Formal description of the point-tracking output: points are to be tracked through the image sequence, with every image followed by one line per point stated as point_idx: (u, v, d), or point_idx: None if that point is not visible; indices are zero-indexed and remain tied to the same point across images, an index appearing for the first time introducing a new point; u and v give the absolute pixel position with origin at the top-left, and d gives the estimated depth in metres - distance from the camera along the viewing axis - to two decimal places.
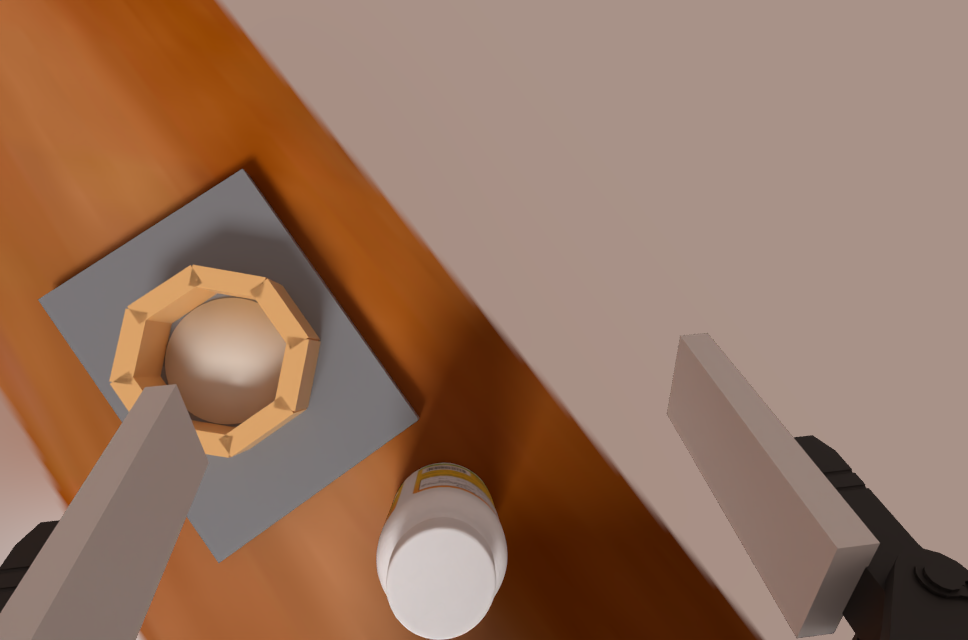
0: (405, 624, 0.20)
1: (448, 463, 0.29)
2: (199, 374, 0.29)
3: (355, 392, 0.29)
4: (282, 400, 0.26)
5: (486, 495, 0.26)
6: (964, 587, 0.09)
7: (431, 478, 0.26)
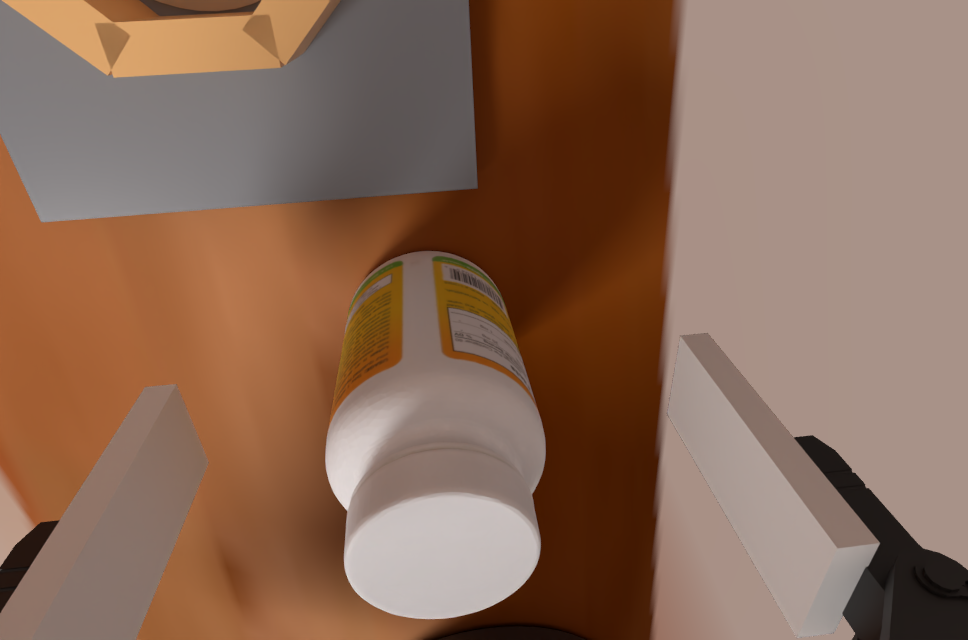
0: (355, 585, 0.11)
1: (477, 269, 0.18)
2: None
3: (401, 80, 0.15)
4: (268, 25, 0.12)
5: None
6: (964, 587, 0.09)
7: (467, 316, 0.15)
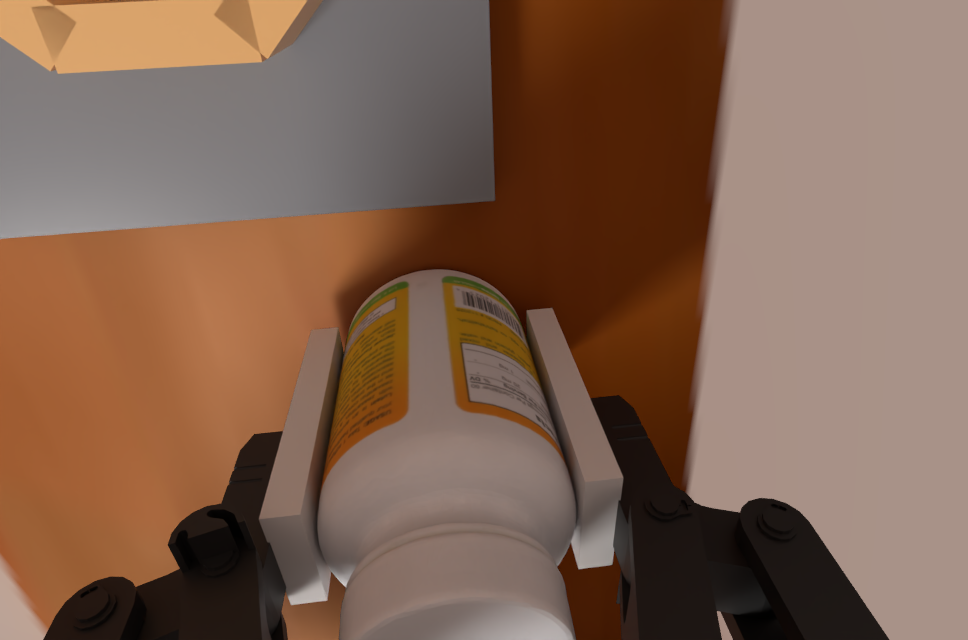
0: None
1: (493, 290, 0.16)
2: None
3: (408, 76, 0.13)
4: (245, 10, 0.09)
5: None
6: (680, 506, 0.10)
7: (484, 354, 0.13)
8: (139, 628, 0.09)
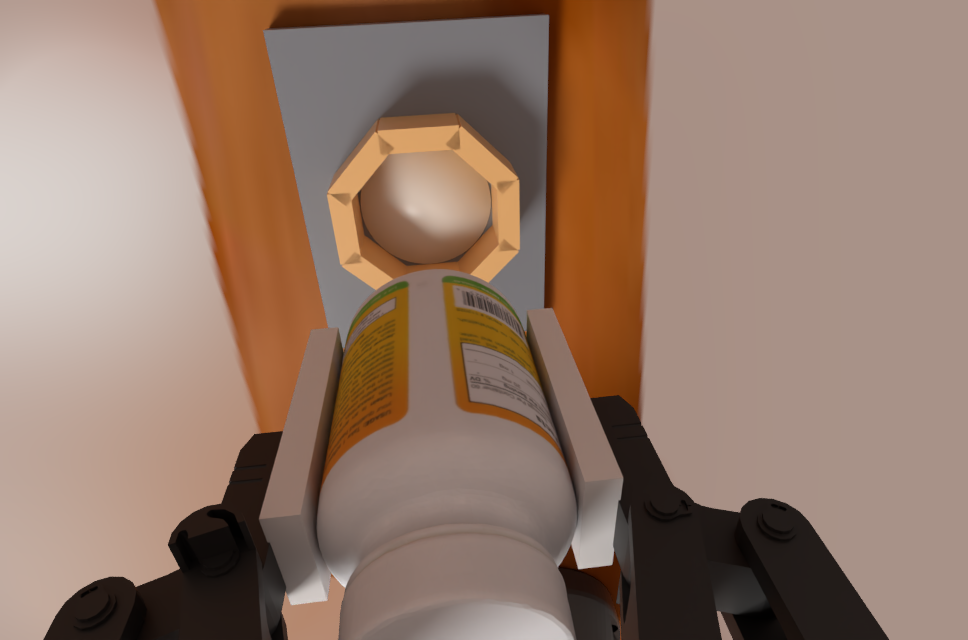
0: None
1: (493, 289, 0.16)
2: (391, 201, 0.28)
3: (511, 285, 0.31)
4: None
5: None
6: (680, 506, 0.10)
7: (484, 354, 0.13)
8: (139, 628, 0.09)
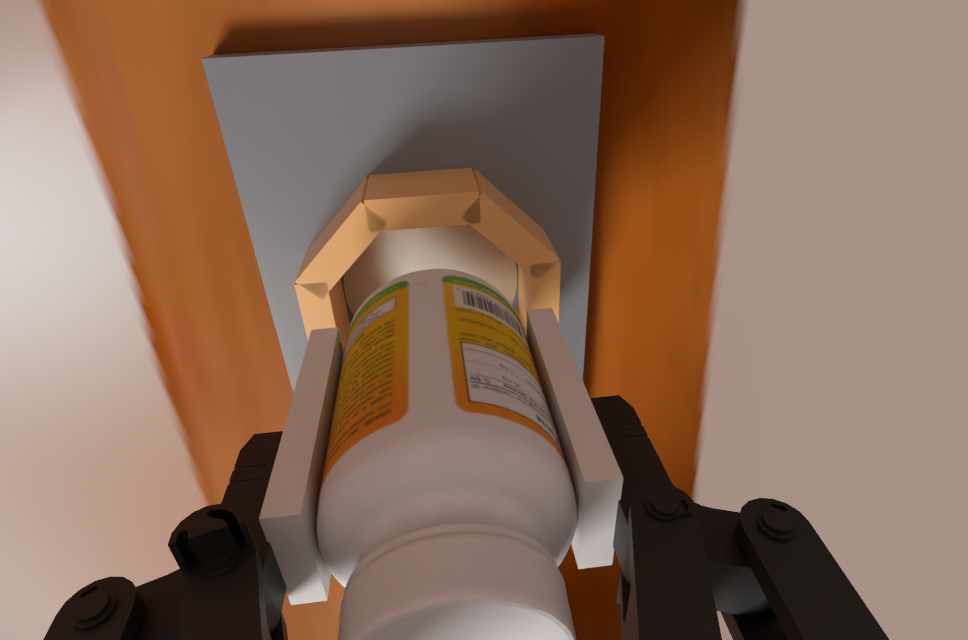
0: None
1: (493, 289, 0.16)
2: (385, 281, 0.21)
3: None
4: None
5: None
6: (680, 506, 0.10)
7: (484, 353, 0.13)
8: (139, 628, 0.09)
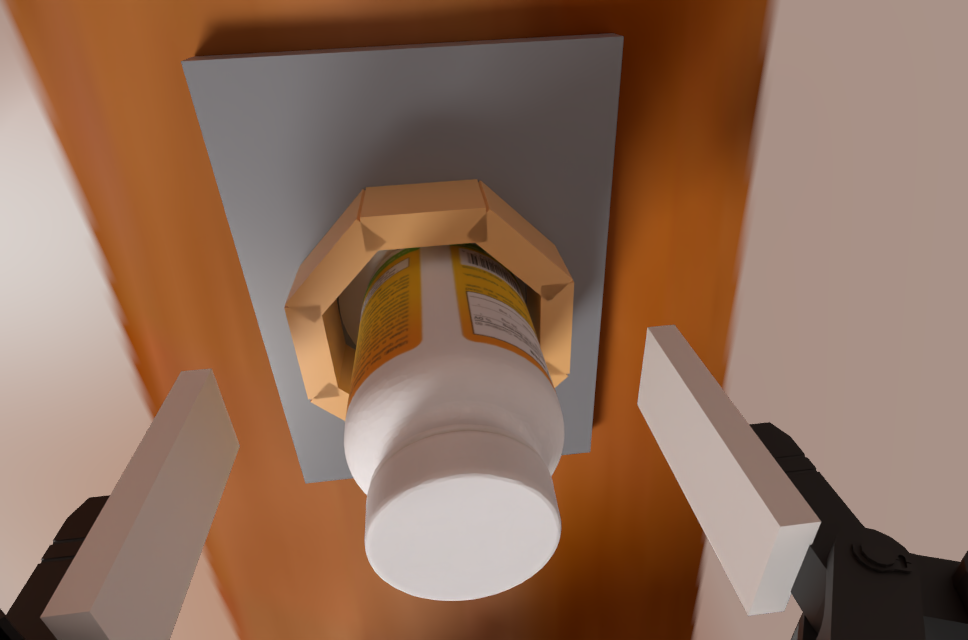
0: (375, 565, 0.11)
1: None
2: None
3: None
4: None
5: None
6: (898, 561, 0.09)
7: (486, 300, 0.15)
8: None
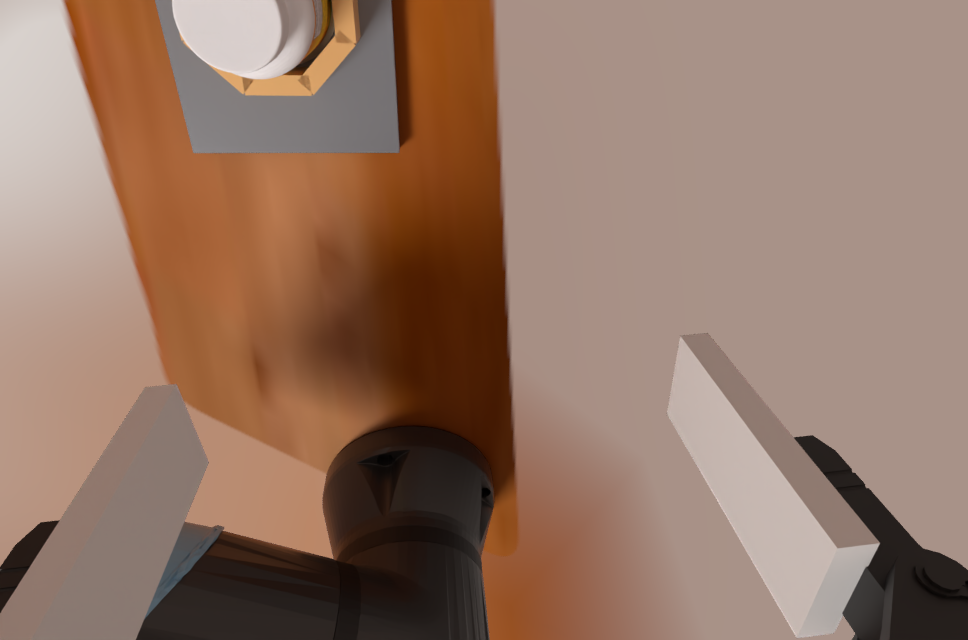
0: (179, 28, 0.21)
1: None
2: None
3: (364, 100, 0.33)
4: (308, 79, 0.29)
5: (321, 0, 0.26)
6: (964, 587, 0.09)
7: None
8: None
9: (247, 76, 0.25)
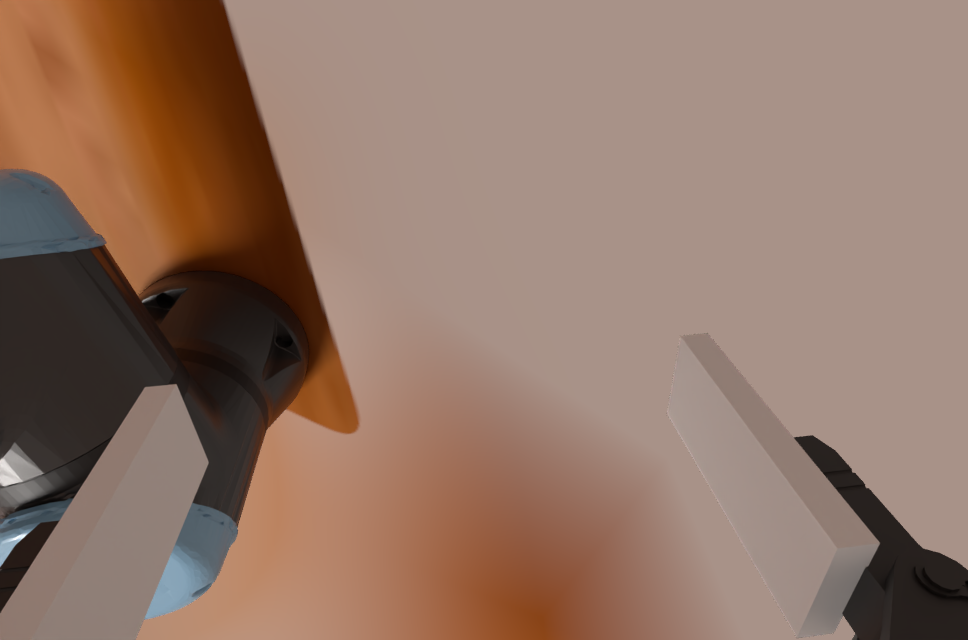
0: None
1: None
2: None
3: None
4: None
5: None
6: (964, 587, 0.09)
7: None
8: None
9: None
